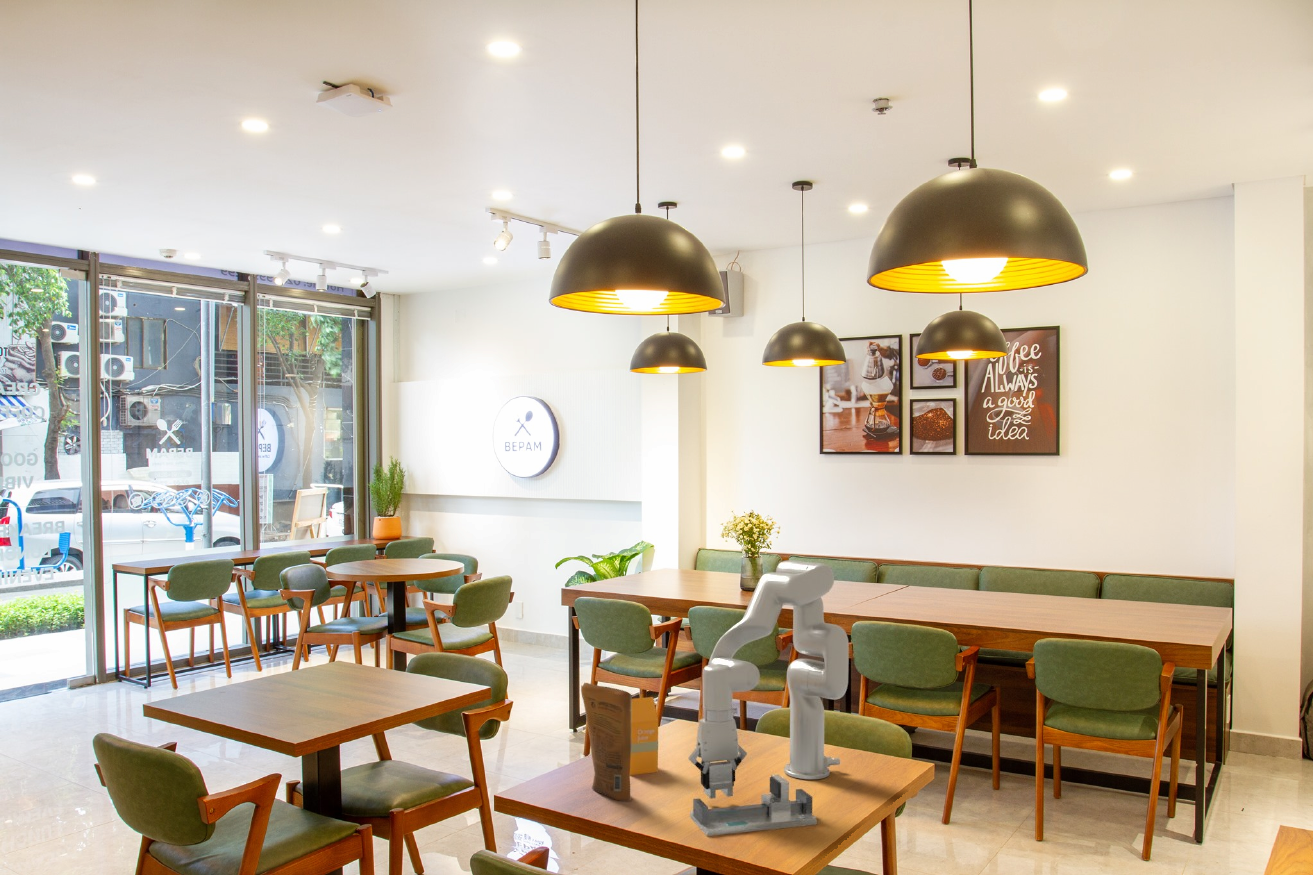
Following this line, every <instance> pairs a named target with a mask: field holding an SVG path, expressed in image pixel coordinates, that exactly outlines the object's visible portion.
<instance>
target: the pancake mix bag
mask: <svg viewBox="0 0 1313 875" xmlns="http://www.w3.org/2000/svg"><path fill="white" fill-rule="evenodd" d="M580 686H581V687H580V692H581V698H582V701H583V705H584V711H585V718H586V725H587V731H588V737H589V743H590V753H591V759H592V764H593V771H594V775H593V783H592V785H591V786H592V787H591V789H592V791H595V792H598V793H600V794H602V795H604V796H606V797H609V798H611V799H613V800H615V801H619V802H620V801H622V802H624V801H625V802H628V801H632V799H631V798H632V797H631V775H630V758H631V701H632V699H633V694H632V693H630V692H628V691H626V690H623V689H618V688H614V687H610V686H602V685H597V684H593V683H589V682H584V683H583V684H582V685H580Z"/></svg>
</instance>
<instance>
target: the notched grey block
mask: <svg viewBox="0 0 1313 875" xmlns="http://www.w3.org/2000/svg"><path fill="white" fill-rule="evenodd" d="M707 773H708V774H709V789H705V788H704V787H703V793H704V794H705V795H706V796H707V797H708V798H709V799H711V800H712V799H716V798H717V794H716V793H717V791H718V790H719V791H720V792H722V793H723V794H724V795H725V796H726V797H728V798H730V797H734V796H733V795H734V791H733V790H734V786H733V782H732V763H730V762H729V761H727V760H724V761H715V762H710V764H709V767H708V770H707Z"/></svg>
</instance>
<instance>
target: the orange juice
mask: <svg viewBox="0 0 1313 875" xmlns="http://www.w3.org/2000/svg"><path fill="white" fill-rule="evenodd" d="M656 708H657V707H656V702H655V699H654V697H653V696H650V697H649V696H648V697H638V698H637V697H635V698H632V701H631V758H630V776H634V775H635V776H636V775H643V774H650V773H658V772H659V771H658V770H659V769H658V768H659V760H658V759H659V757H658V756H659V717H658V713H657V709H656Z"/></svg>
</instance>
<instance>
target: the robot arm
mask: <svg viewBox="0 0 1313 875" xmlns="http://www.w3.org/2000/svg"><path fill="white" fill-rule="evenodd" d="M834 582H835V573H834V572H833V569H832V568H831V567H830V566H829V565H827V564H826V563H823V562H822V563H821V562H811V561H803V560H783V561H781V562H780V563H778V565H777V566H776V569H775V572H774V571H773V572H772V571H771V572H766V573H764V574H763V575H762V576H761V577H760V579H759V580H758V582H757V585H756V587H755V589H754V591H753V594H752V596H751V598H750V600H749V603H748V605H747V607H746V610H745V612H744V615H743V618H742V619H741V620H740V621H739V622H736V624H734V625H733V626H732V627H731V628H729V629H728V630H727V631H726V632H725V633H724V634H723V635H722V636H721V637H720V638H719V640H718V641H717V642H716V644H715V646H714V648H713V651H712V653H711V655H710V658H709V661H708V664H707V665H705V666H704V668H703V669H702V718H700V719H699V721H698V726H697V735H696V736H697V737H696V746H695V749H694V750H693V752H691V754H690V755H689V756H688V761H690V762H691V764H693V765H694V766H695V767H696V768H697V769H698V770H699V771H700V784H701V786H702V787H703V789H704V788H705V789H709V774H708V773H707V770H708V767H709V764H710V763H715V762H724V761H729V762H730V763H732V782H733V787H734V786H735V782H736V771H737V769H738V767H739V766H740V764H741V763H742V761H743V760H744V759H745V758H746V756H747V755H748V753H747V752H746V751H745V749H743V747H742V746H741V745H740V744H739V738H738V729H737V724H736V720H735V718H734V715H737V714H738V712H739V711H738V708H735V707H734V706H733V694H734V693H739V692H741V693H743V692H749V691H752V690H753V689H755V688H756V687H757V686H758V684H759V682H760V677H761V675H760V670H759V669H758V668H759V667H758V666H756V665H755V664H754V663H752V662H750V661H745V660H742V659H741V660H740V659H737V658H734V655H735V654H736V653H737V651H738V650H740V649H741V648H742V647H744V645H747V644H749V643H751V642H754V641H756V640H760V639H762V638H765V637H768V636H770V635H771V634H772V633H773V631H774V629H775V626H776V624H777V621H778V618H779V616H780V614H781V611H782V609H783V607H784V606H789V607H792V610H793V611H792V613H793V616H792V618H793V619H792V620H793V623H792V624H793V625H792V642H793V644H792V645H793V647H794V649H795V650H796V651H797V652H798V653H800V654H803V655H807V656H811V657H817V658H822V659H823V661H820V660H816V659H811V658H797V659H795V660H793V661H792V662H791V663H790V664H789V666H788V667H787V670H786V681H787V687H788V693H789V705H790V706H789V708H790V710H789V713H790V714H789V718H790V719H789V763H788V764H786V765H785V766H784V767H783V768H784V769H783V770H784V771H783V772H784V773H785V774H786V775H788V776H789V777H792V778H795V779H800V780H821V779H825V778H827V777H829V776H830V767H831V766H839V765H840V764H841V760H840V758H839V757H833V758H832V757H831V756H825V708H824V704H823V701H822V699H821V698H823V699H829V700H838V699H839V700H840V699H841V698H843V697H844V696H845V694H846V692H847V689H848V685H849V659H850V658H849V656H850V655H849V651H850V649H849V638H848V635H847V632H846V630H845V629H844V628H843V627H842V626H840V625H837V624H834V623H833V624H832V623H828V622H827V623H826V622H825V619H824V618H825V616H824V602H823V599H822V597H824V596H825V595H827V594H828V593H829V592H830V591H831V589H832V588H833V587H834V586H833V585H834ZM697 758H701V761H698V760H697Z"/></svg>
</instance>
